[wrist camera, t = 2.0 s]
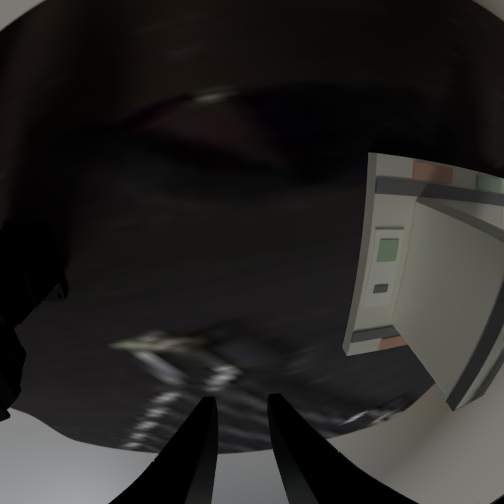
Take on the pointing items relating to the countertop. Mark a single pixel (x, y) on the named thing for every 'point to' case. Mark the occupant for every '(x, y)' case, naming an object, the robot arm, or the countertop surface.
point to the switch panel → (405, 235)
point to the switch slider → (454, 300)
